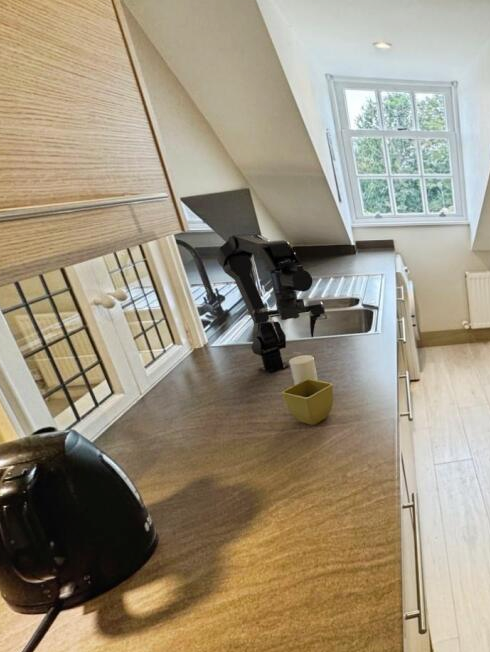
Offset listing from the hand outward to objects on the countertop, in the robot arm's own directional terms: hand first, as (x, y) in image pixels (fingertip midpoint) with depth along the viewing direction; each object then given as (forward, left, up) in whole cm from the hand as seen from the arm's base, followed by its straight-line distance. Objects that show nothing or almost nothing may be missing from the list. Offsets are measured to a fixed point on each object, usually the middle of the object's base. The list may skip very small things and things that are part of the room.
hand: (295, 339), depth 133 cm
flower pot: (+25, -13, -13) cm, 31 cm away
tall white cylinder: (+16, -8, -13) cm, 22 cm away
